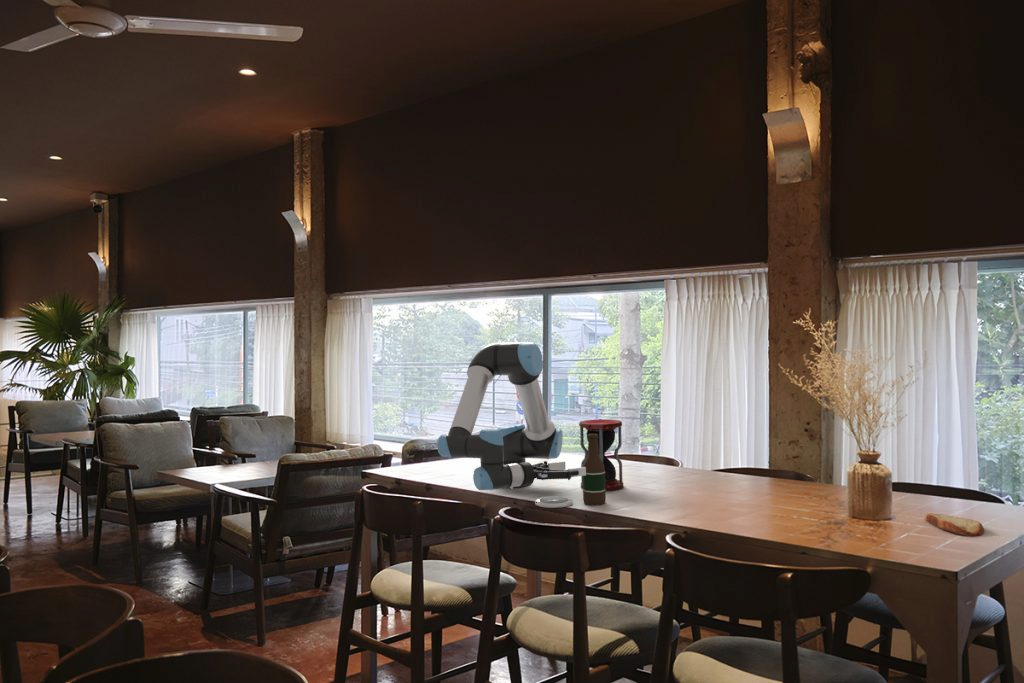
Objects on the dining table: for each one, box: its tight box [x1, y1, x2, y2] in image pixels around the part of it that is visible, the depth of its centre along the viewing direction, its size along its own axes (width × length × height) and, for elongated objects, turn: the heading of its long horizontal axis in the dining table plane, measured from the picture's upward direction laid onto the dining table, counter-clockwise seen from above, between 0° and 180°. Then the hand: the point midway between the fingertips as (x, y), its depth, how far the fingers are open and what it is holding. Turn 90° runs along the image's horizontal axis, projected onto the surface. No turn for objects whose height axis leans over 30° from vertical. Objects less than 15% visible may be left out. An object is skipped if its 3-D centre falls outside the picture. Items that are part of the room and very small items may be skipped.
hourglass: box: [578, 418, 624, 492], centre depth 312 cm, size 16×16×25 cm
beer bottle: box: [582, 434, 607, 506], centre depth 284 cm, size 8×8×24 cm
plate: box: [534, 495, 574, 509], centre depth 285 cm, size 13×13×1 cm
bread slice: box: [924, 512, 985, 538], centre depth 240 cm, size 18×18×4 cm
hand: (575, 468), depth 280 cm, fingers open, 13 cm apart
